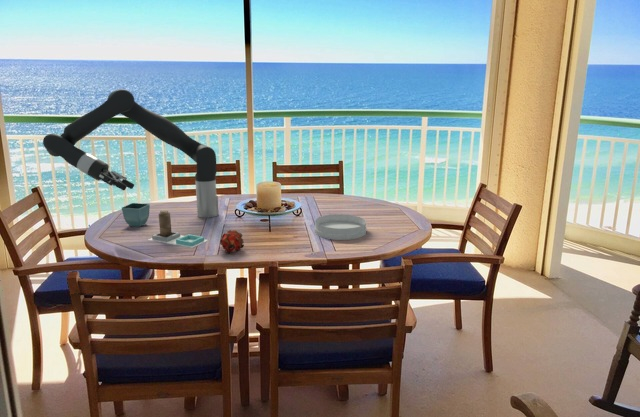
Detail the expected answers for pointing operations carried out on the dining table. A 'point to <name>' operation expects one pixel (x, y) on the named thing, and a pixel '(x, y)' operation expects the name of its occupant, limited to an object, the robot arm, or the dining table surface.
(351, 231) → the dish
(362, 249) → the dining table surface
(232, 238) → the dragon fruit
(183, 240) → the frame board
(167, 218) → the jar
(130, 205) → the flower pot
